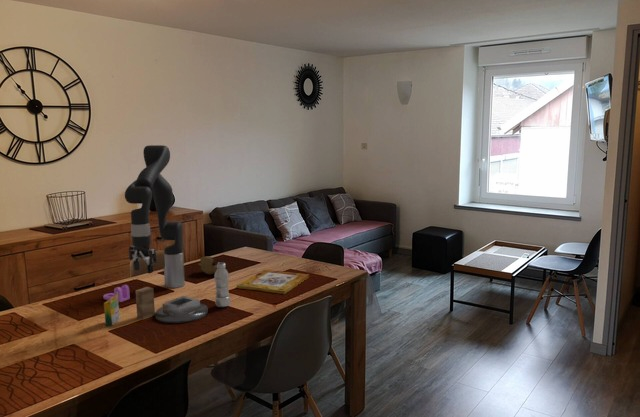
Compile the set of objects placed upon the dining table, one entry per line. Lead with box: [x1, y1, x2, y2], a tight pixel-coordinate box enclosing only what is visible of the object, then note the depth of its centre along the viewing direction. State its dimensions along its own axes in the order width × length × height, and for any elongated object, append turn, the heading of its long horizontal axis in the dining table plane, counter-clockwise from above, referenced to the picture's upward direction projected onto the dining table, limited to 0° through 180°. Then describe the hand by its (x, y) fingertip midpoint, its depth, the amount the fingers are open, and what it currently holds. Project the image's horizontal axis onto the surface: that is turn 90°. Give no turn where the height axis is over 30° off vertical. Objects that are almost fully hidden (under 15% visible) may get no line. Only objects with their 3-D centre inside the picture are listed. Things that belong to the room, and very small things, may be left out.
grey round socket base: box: [154, 295, 209, 324], centre depth 214 cm, size 22×22×6 cm
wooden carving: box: [198, 255, 218, 275], centre depth 275 cm, size 16×5×10 cm, turn 58°
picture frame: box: [236, 269, 310, 295], centre depth 258 cm, size 27×2×30 cm
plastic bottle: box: [213, 261, 231, 308], centre depth 221 cm, size 6×7×20 cm
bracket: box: [102, 284, 131, 303], centre depth 234 cm, size 13×6×7 cm, turn 64°
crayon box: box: [103, 293, 121, 327], centre depth 204 cm, size 7×3×12 cm, turn 178°
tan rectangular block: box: [135, 286, 156, 320], centre depth 211 cm, size 4×6×12 cm, turn 148°
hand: (143, 271), depth 208 cm, fingers open, 8 cm apart
